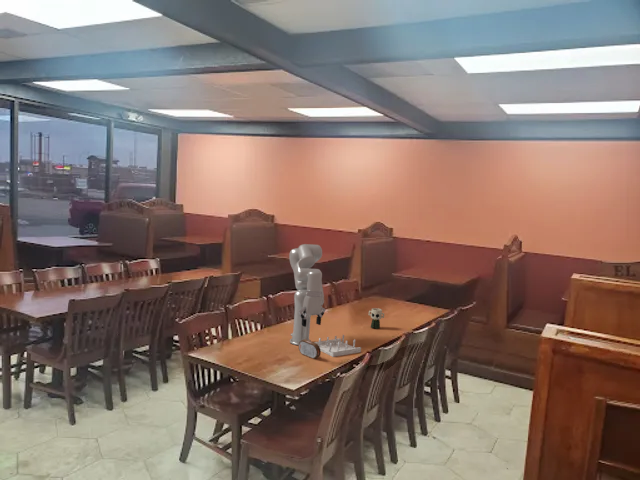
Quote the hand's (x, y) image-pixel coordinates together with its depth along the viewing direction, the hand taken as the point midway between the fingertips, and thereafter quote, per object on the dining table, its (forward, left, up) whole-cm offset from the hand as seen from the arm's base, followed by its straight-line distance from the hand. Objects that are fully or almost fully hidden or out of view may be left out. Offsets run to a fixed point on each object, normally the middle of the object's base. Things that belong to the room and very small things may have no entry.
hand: (311, 325), depth 279 cm
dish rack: (-3, +22, -17) cm, 28 cm away
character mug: (-29, +77, -18) cm, 84 cm away
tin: (0, 0, -18) cm, 18 cm away
